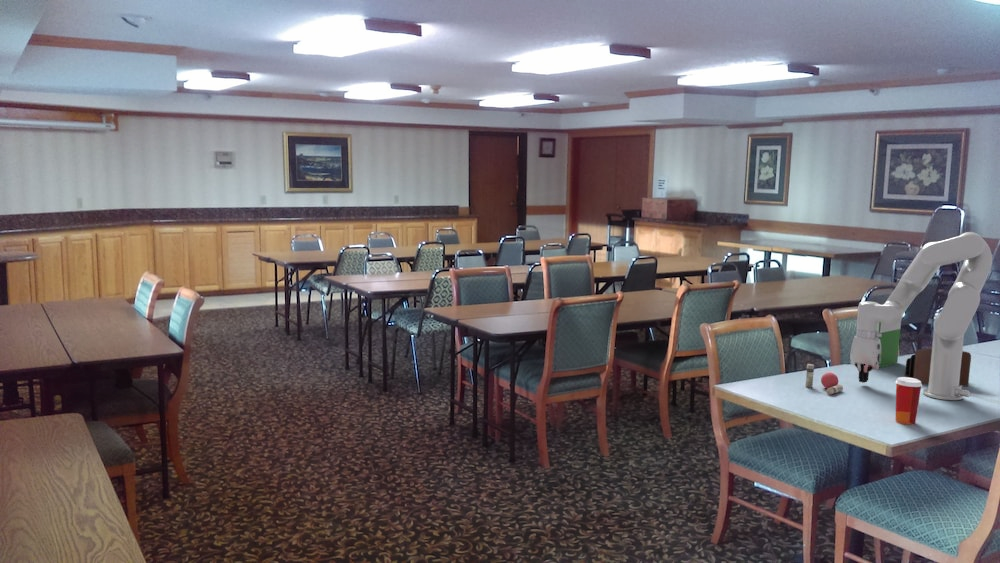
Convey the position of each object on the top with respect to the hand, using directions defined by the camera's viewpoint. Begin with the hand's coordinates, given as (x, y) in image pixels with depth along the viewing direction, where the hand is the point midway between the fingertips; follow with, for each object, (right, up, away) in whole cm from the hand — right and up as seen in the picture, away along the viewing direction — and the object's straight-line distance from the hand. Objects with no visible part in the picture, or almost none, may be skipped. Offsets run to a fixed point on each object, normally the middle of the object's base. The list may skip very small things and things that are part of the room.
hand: (863, 381), depth 293 cm
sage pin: (-22, -2, -4) cm, 22 cm away
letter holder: (+33, -2, +9) cm, 34 cm away
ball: (-15, +1, -6) cm, 16 cm away
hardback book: (+24, +3, +37) cm, 45 cm away
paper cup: (-8, -7, -45) cm, 46 cm away
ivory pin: (-13, -1, -9) cm, 16 cm away
